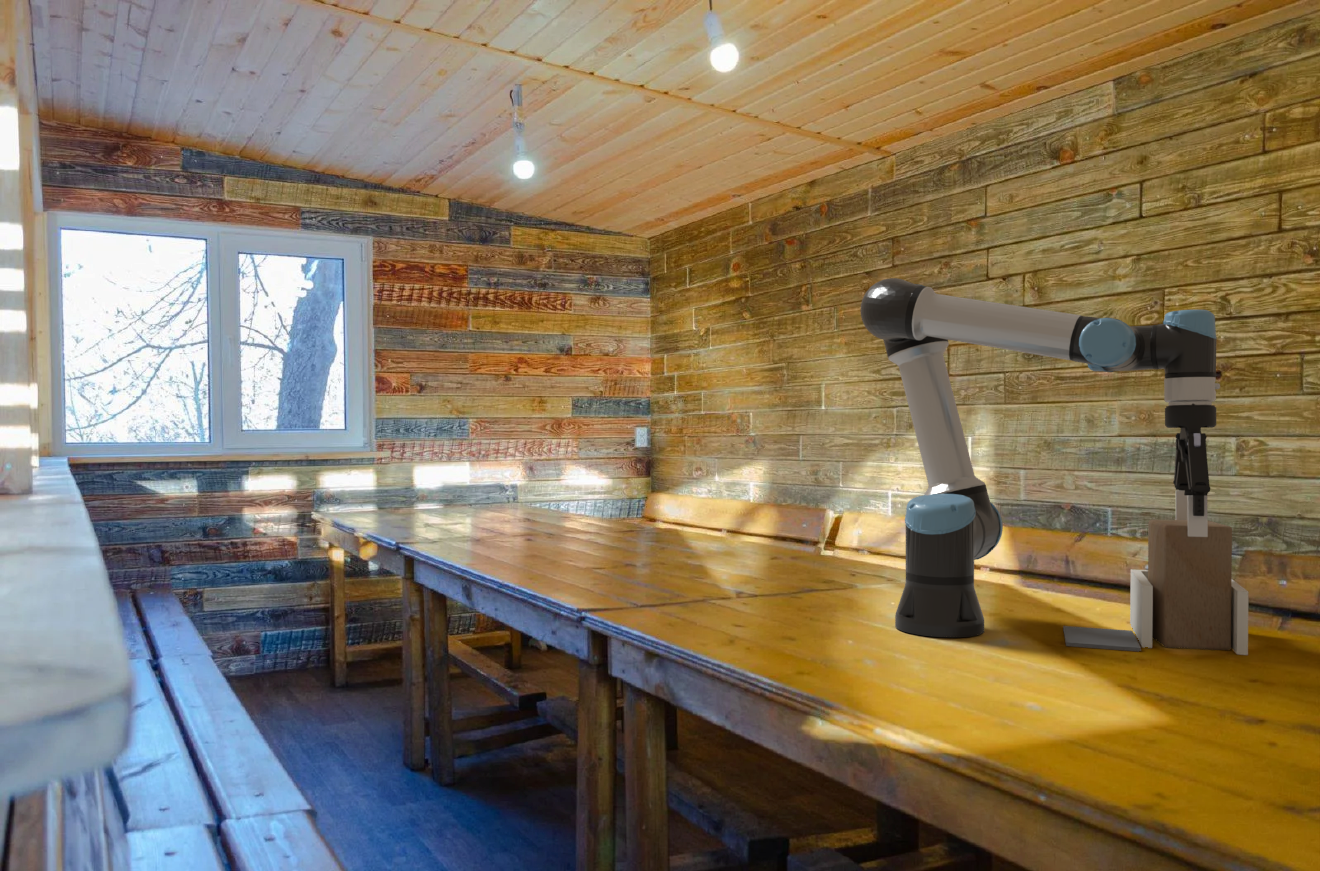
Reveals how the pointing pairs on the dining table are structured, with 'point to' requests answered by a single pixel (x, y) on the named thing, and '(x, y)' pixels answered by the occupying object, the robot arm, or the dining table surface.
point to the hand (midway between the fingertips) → (1190, 532)
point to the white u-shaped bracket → (1144, 612)
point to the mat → (1101, 638)
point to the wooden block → (1190, 585)
